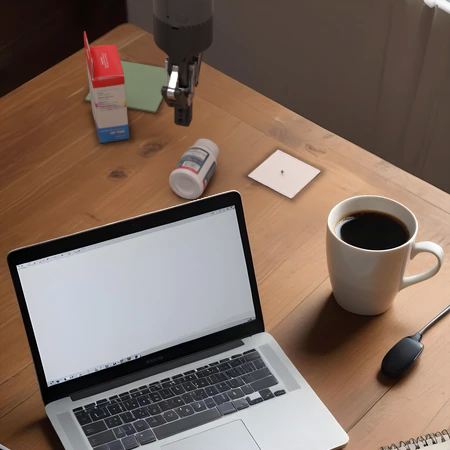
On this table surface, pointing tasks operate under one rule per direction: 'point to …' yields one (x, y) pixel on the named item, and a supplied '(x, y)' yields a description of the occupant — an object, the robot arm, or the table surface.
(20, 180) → the table surface
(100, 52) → the ink box
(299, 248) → the table surface
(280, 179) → the coaster
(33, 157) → the table surface
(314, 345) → the table surface
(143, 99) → the felt mat
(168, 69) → the robot arm
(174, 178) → the pill bottle
